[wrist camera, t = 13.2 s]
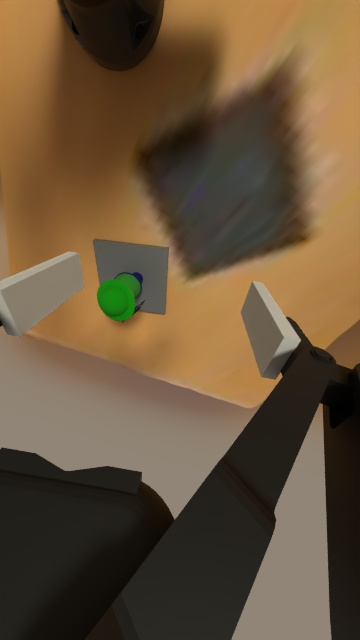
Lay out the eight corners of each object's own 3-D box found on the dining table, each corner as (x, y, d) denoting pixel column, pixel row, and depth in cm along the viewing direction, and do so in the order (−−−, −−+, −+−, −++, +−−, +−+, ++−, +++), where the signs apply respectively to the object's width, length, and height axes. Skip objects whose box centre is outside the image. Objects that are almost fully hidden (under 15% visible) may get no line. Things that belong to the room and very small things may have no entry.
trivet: (95, 238, 46) (92, 239, 44) (168, 247, 45) (168, 248, 44) (104, 304, 55) (103, 306, 54) (165, 311, 55) (164, 314, 54)
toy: (133, 301, 53) (111, 333, 40) (109, 277, 49) (78, 304, 37) (156, 283, 49) (140, 312, 36) (132, 256, 46) (105, 278, 33)
